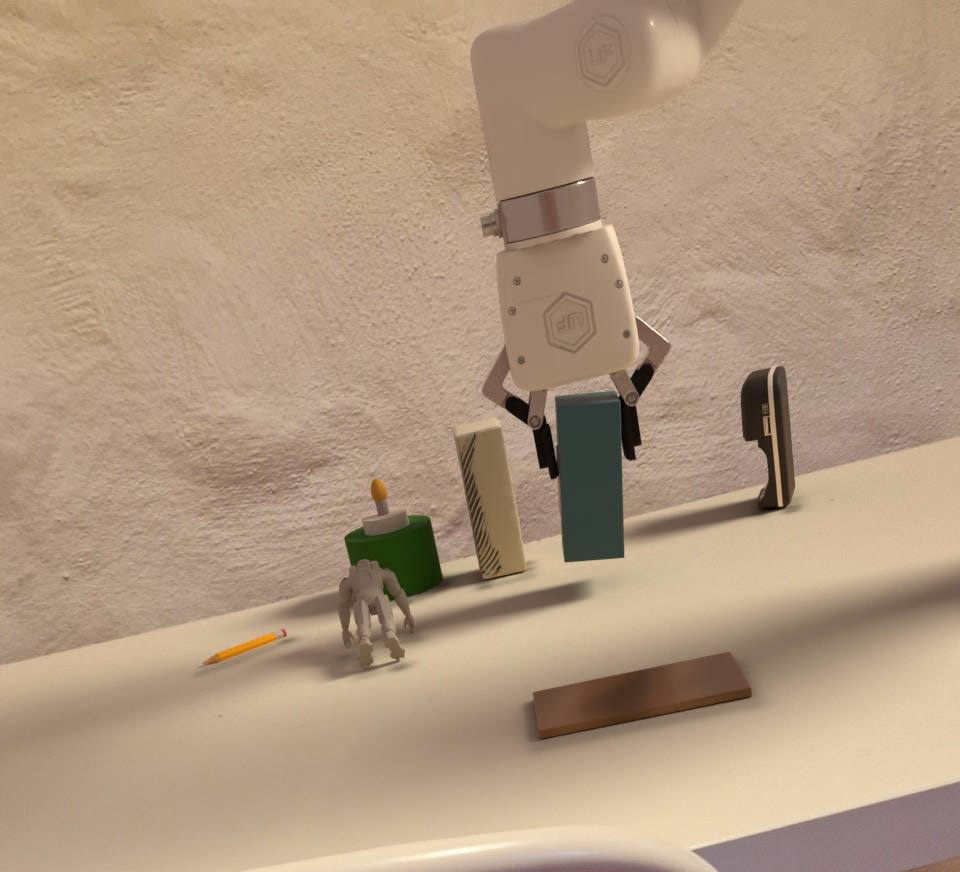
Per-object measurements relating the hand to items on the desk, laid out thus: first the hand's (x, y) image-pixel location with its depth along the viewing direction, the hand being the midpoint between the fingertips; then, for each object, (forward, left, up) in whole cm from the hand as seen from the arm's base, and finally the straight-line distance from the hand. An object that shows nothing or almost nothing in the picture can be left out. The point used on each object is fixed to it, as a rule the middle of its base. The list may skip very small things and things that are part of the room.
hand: (591, 464), depth 115 cm
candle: (+19, -14, -10) cm, 26 cm away
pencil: (+33, -3, -10) cm, 35 cm away
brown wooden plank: (+1, +30, -10) cm, 31 cm away
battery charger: (-17, -16, -10) cm, 26 cm away
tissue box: (-2, 0, -1) cm, 3 cm away
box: (+9, -12, -10) cm, 18 cm away
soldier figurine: (+20, +5, -10) cm, 23 cm away
